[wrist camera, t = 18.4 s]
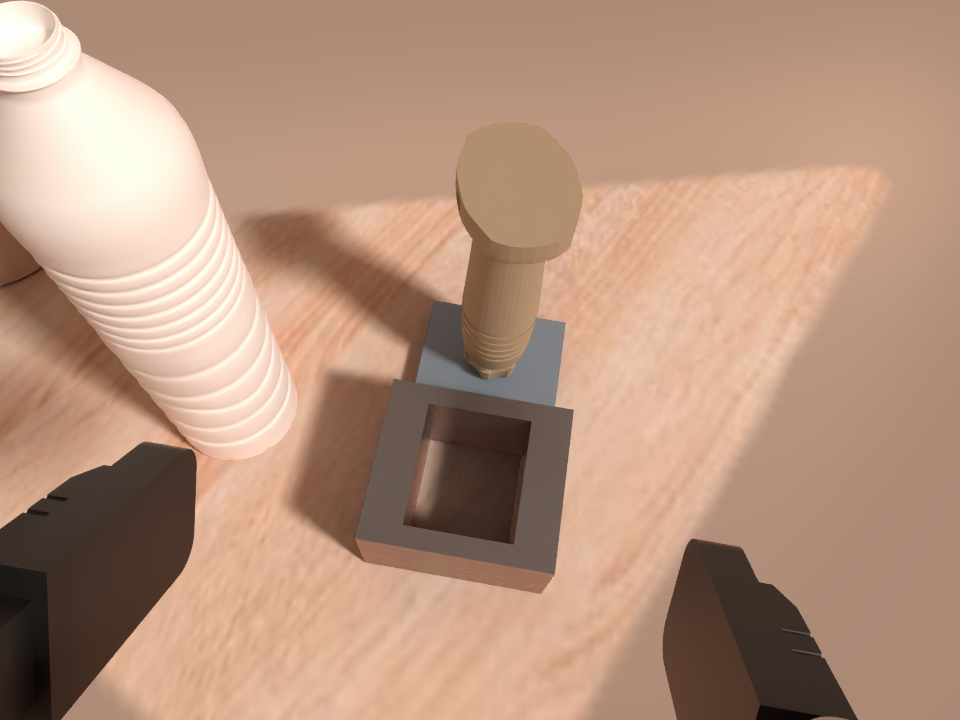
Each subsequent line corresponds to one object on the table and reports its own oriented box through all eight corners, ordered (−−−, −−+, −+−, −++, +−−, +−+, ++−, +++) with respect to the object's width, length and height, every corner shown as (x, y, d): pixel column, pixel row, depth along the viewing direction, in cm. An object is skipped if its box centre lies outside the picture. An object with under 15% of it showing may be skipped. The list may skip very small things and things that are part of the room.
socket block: (364, 561, 38) (354, 538, 33) (398, 417, 41) (393, 378, 37) (540, 593, 37) (554, 574, 33) (558, 445, 41) (573, 409, 37)
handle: (521, 305, 44) (560, 117, 31) (544, 402, 41) (597, 240, 28) (442, 315, 43) (446, 127, 30) (460, 413, 41) (473, 253, 27)
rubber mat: (414, 396, 42) (413, 389, 41) (434, 309, 45) (434, 300, 44) (551, 420, 42) (553, 413, 41) (563, 330, 44) (565, 322, 44)
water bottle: (310, 442, 40) (155, 84, 18) (191, 478, 39) (-132, 141, 17) (276, 313, 44) (112, -116, 22) (166, 342, 43) (-127, -82, 21)
